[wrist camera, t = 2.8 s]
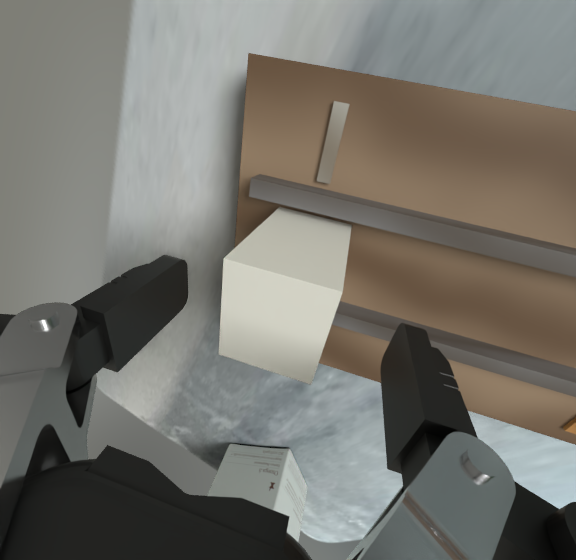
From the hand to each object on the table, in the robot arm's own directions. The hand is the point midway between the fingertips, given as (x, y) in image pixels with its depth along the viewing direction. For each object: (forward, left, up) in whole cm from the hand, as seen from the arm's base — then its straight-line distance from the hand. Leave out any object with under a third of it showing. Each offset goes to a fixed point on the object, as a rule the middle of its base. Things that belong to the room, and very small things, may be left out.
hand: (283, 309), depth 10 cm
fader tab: (0, 0, -5) cm, 5 cm away
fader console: (0, +9, -7) cm, 11 cm away
